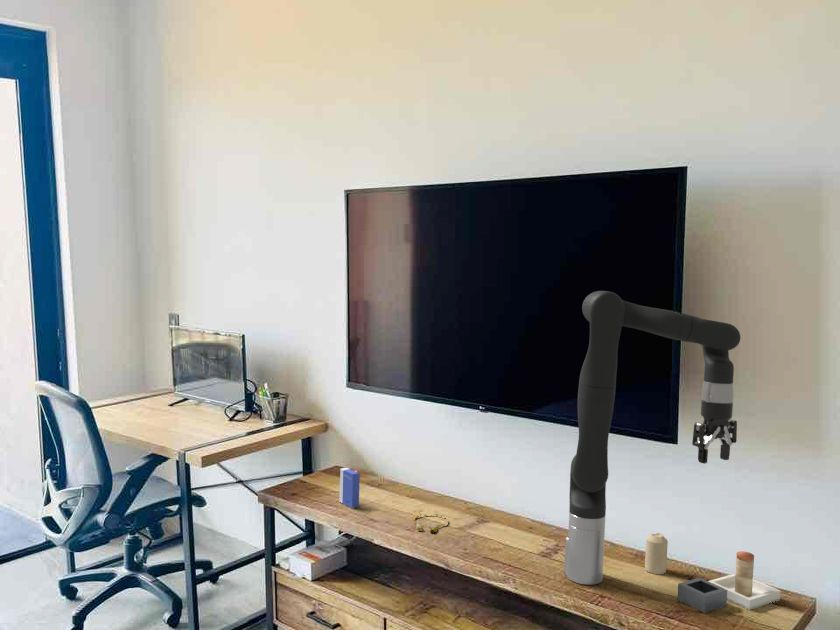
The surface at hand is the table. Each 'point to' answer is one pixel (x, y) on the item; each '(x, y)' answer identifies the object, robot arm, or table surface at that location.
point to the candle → (656, 553)
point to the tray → (759, 597)
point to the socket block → (702, 595)
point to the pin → (744, 573)
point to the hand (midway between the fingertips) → (713, 461)
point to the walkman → (349, 487)
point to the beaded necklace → (420, 528)
